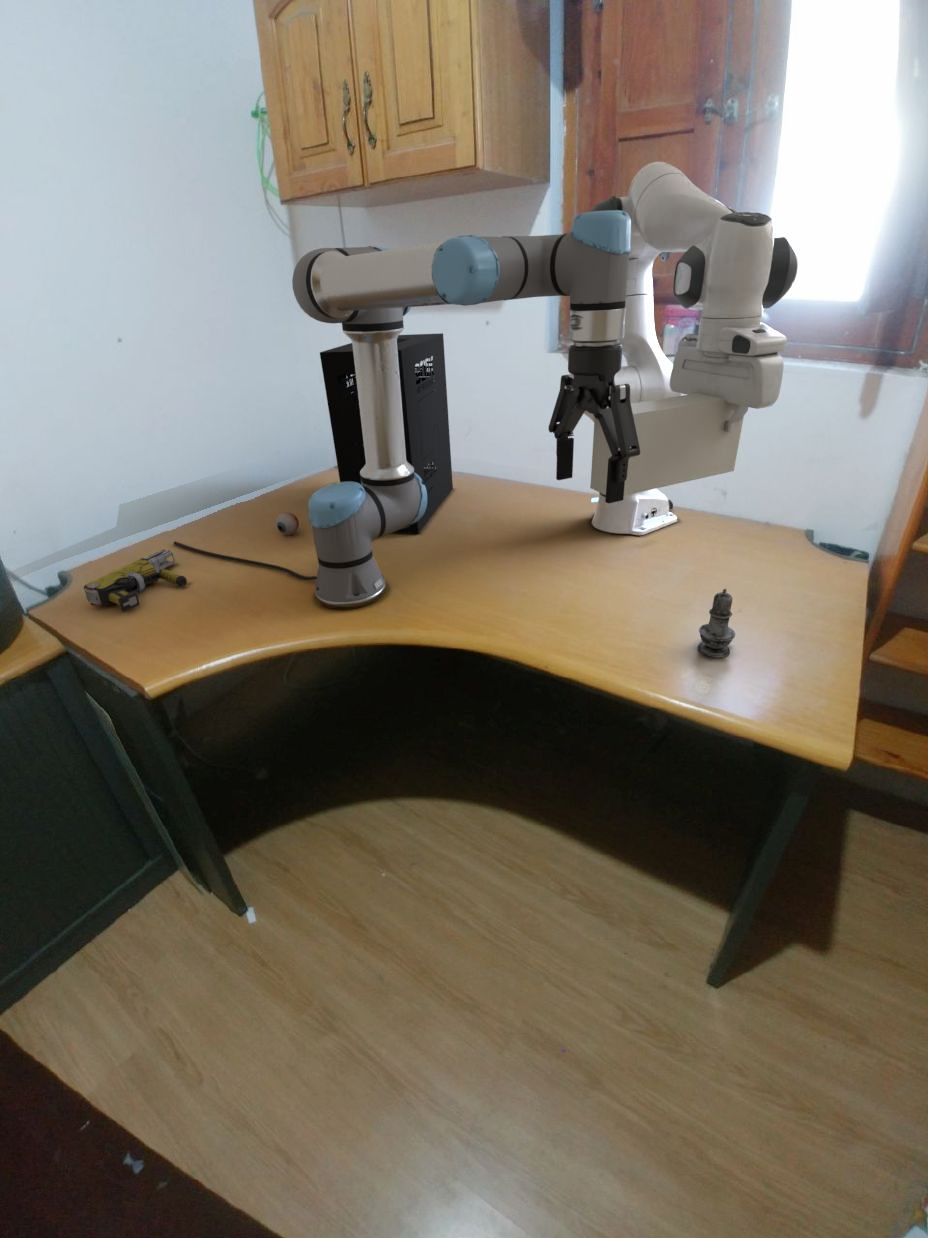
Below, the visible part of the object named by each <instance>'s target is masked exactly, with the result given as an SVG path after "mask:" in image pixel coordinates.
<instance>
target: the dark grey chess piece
mask: <svg viewBox="0 0 928 1238" xmlns="http://www.w3.org/2000/svg"><path fill="white" fill-rule="evenodd" d="M732 605H733V596H732V595H731V594H730V593H729V592H728V590H727V589H726V588H724V589H722V591H720V592H717V593H715V595H714V597H713V601H712V608H711V609H710V610H708V613H709V615H710V617H709V622H708V623H705V624H702V625H701V626H700V627H699V628H698V633H699V634H700V635H699V636H700V640H701V642H700V643H698V645H697V649H698V651H699V652H700V653H701V654H703V655H705V656H707V657H710V658H715V659H716V658H720V659H721V658H726V657H727V656H729V655H730V653H731V648H730V647H729V646H730V644H731V643H732V641H733V640H734V639H735V637H736V632H735V630H734V629H732V627H730V626H729V622H730V619H731V617H732V616H733V613H732V611H731V610H732Z"/></svg>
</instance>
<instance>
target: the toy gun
mask: <svg viewBox="0 0 928 1238" xmlns="http://www.w3.org/2000/svg"><path fill="white" fill-rule="evenodd" d="M171 557H172V561H171V560H168V558H171ZM175 563H176V561H175V556H174V552H173V551H172V550H169V549H168V550H167V549H165V548H162V549H161V550H159V551H155V552H154V553H152V554H150V555H148V556H146V557H141V558H140V559H138V560H135V561H133V562H131V563H129V564H127V565H125V566H122V567H120V568H118V569H116V570H114V571H111V572H109V573H107V574H105V575H103V576H101V577H98V578H97V579H94V580H92V581H90V582H88V583H86V584H84V585H83V590H84V593H85V597H86V600H87V602H88V603H89V604H90V606H94V607H98V606H109V605H113V604H116V605H118V606H119V607H120V611H121V612H122V613H123V612H127V611H129V610H131V609H134V608H136V607H138V606H141V605H140V604H141V603H140V599H139V595H138V594H139V593H140V592H142V591H144V590H145V589H146V586H148V585H150V584H152V583H155V582H158V581H159V579H161V580H165V581H166V582H168V583H172V584H173V585H176V586H178V587H179V588H181V587H185V586H186V585H187V583H188V580H187V577H185V575H180V574H179V573H175V572H173V571H170V570H169V569H167V568H169V567H170V566H174V565H175Z"/></svg>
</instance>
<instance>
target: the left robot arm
mask: <svg viewBox="0 0 928 1238" xmlns="http://www.w3.org/2000/svg"><path fill="white" fill-rule="evenodd" d="M630 230H631V220H630V216H629V215H628V213H626V212H625V211H621V210H608V211H594V212H590V211H587V212H583V213H582V212H581V213H577V214H576V215H575V216H574V218H573V220H572V226H571V231H570V232H566V233H562V234H546V235H544V234H543V235H510V236H508V235H504V236H477V235H475V234H474V235H473V234H470V235H459V236H455V237H451V238H448V239H446V240H445V241H439V242H431V243H425V244H419V245H412V246H405V247H398V248H388V247H381V246H380V247H379V246H372V245H369V246H356V247H355V246H354V247H353V246H351V247H321V248H316V249H313V250H311V251H309V252H307V253H305V254H304V255H303V256H302V257H301V258H300V259H299V260H298V261H297V262H296V265H295V267H294V269H293V274H292V281H291V282H292V283H291V285H292V291H293V296H294V298H295V300H296V303H297V304H298V306H299V307H300V309H302V311H303V312H304V313H305V314H306V315H307V316H309V317H310V318H312V319H314V320H315V321H317V322H319V323H320V322H321V323H323V324H324V323H325V324H341V327H342V329H341V330H342V333H343V334H344V335H345V336H347V337H348V338H349V339H350V341H351V343H352V346H353V354H354V363H355V372H356V377H355V378H356V381H357V389H358V398H359V407H360V415H361V424H362V433H363V441H364V450H365V459H366V464H365V466H364V467H363V468H362V469H361V470H360V478H361V484H359V483H357V482H352V481H346V482H340V481H339V482H338V483H336V482H333V483H330V484H328V485H325V486H323V487H321V488H319V489H317V490H316V491H315V492H313V494H312V495H311V496H310V497H309V500H308V504H307V506H308V508H307V509H308V521H309V524H310V527H311V531H312V537H313V543H314V546H315V552H316V557H317V558H316V559H317V562H318V567H317V568H318V569H317V574H316V575H312V576H307V575H302V574H299V573H297V572H295V571H293V570H291V569H289V568H287V567H283V566H280V565H275V564H271V563H267V562H261V561H256V560H253V559H245V558H241V557H235V556H230V555H226V554H220V553H216V552H212V551H206V550H203V549H199V548H195V547H193V546H189V545H186V544H185V543H184V544H183V543H181V542H178V541H174V542H173V545H175V546H178V547H179V548H180V547H181V548H183V549H186V550H188V551H193V552H195V553H198V554H203V555H207V556H211V557H215V558H220V559H225V560H230V561H235V562H240V563H246V564H251V565H255V566H260V567H265V568H270V569H275V570H279V571H282V572H285V573H288V574H290V575H292V576H293V577H296V578H298V579H301V580H305V581H313V580H314V581H315V584H314V585H315V587H314V594H315V598H316V601H317V603H318V604H320V606H322V607H325V608H329V609H333V610H334V609H335V610H349V609H351V610H352V609H358V608H361V607H365V606H368V605H371V604H373V603H375V602H378V600H380V599H381V598H382V597H383V596H384V595H385V593H386V591H387V585H386V579H385V577H384V576H383V574H382V572H381V570H380V567H379V566H378V564H377V561H376V560H375V557H374V553H373V544H372V542H373V541H375V540H377V539H379V538H382V537H384V536H387V535H389V534H392V532H395V531H397V530H399V529H404V528H407V527H408V526H410V525H411V524H413V523H415V522H417V521H418V520H419V519H420V518H421V517H422V516H423V514H424V512H425V510H426V507H427V491H426V487H425V485H422V479H421V478H420V476H419V475H417V474H416V473H415V472H414V467H413V466H412V465H411V464H409V463H408V462H407V461H406V450H405V437H404V425H403V412H402V400H401V387H400V375H399V362H398V350H397V338H398V336H399V335H401V334H402V332H403V331H404V329H405V326H404V317H405V316H406V315H407V314H408V313H409V312H410V311H411V309H412V308H415V307H430V306H431V307H432V306H447V305H454V306H455V305H456V306H463V307H465V306H466V307H467V306H475V305H479V304H486V303H493V302H500V301H511V300H520V299H522V300H523V299H529V298H544V297H569V311H570V313H569V335H568V340H569V341H570V342H572V343H573V344H571V345H570V346H569V348H568V352H567V353H568V355H567V371H568V374H562V375H561V377H560V383H559V391H558V394H557V398H556V401H555V405H554V406H553V407H554V408H553V411H552V414H551V418H550V421H549V424H548V432H549V433H553V436H554V438H555V440H556V446H555V447H556V451H555V454H556V471H555V472H556V474H555V480H557V481H562V480H567V479H573V474H574V473H573V471H574V450H575V449H574V448H575V447H574V446H575V445H574V444H575V438H574V436H575V434H574V431H575V429H576V427H577V425H578V424H579V422H580V420H581V419H582V417H583V416H584V415H585V414H584V412H585V411H588V412H589V413H592V414H594V417H595V418H596V419H598V420H599V422H600V425H601V428H602V430H603V433H604V435H605V438H606V441H607V443H608V446H609V449H610V451H611V454H612V456H611V457H610V458H609V459H608V471H607V486H606V500H605V502H606V503H608V504H609V503H613V502H618V501H622V500H623V498H624V486H625V481H626V479H627V470H628V460H629V458H630V457H634V456H639V455H640V447H639V442H638V437H637V432H636V427H635V423H634V418H633V413H632V408H631V403H630V385H629V384H621V385H615V381H614V376H615V374H616V373H618V372H619V371H620V370H621V367H622V363H623V362H622V360H623V354H622V349H623V346H621V344H620V343H619V340H621V339H622V338H624V327H625V310H626V307H625V299H626V288H627V276H628V265H629V255H630V253H631V248H630ZM607 406H608V408H607ZM630 447H631V448H630ZM618 448H620V451H619V449H618Z"/></svg>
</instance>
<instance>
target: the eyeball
mask: <svg viewBox="0 0 928 1238" xmlns="http://www.w3.org/2000/svg"><path fill="white" fill-rule="evenodd" d="M299 525H300V522H299V519H298V517H297V516H296V515H295V514H294V513H292V512H287V511H286V512H282V513H280V514H279V515H278V516H277V517H276V520H275V527H276V529H277V530H278V531H279V532H280V533H281V534H282V535H285V536H286V535H287V536H289V535H293V534H295V533H296V532H297V531H298V529H299Z"/></svg>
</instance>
